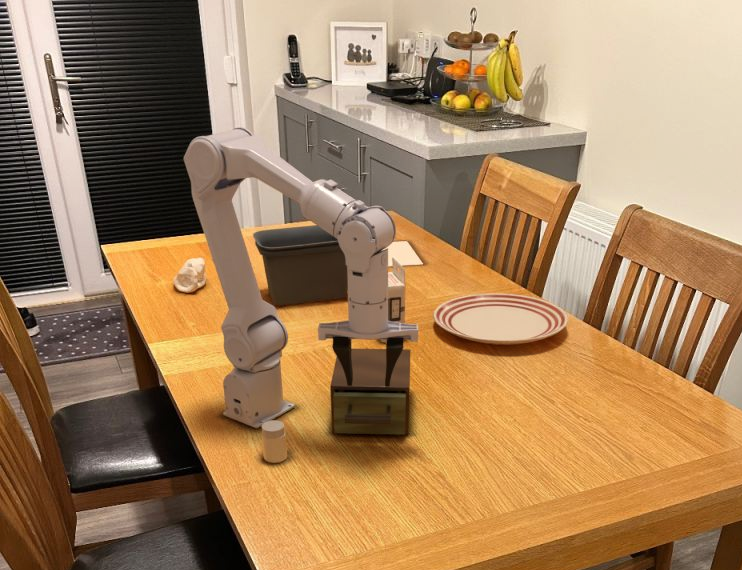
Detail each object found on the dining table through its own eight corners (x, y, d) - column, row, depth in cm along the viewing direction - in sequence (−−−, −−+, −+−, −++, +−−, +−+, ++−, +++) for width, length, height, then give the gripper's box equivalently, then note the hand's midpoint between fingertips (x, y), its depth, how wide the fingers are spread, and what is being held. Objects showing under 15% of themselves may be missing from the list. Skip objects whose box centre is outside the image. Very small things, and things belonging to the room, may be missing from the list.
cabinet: (408, 433, 128) (409, 387, 124) (332, 432, 129) (330, 385, 124) (409, 393, 141) (410, 349, 136) (339, 391, 141) (338, 348, 137)
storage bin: (265, 312, 173) (260, 247, 165) (254, 289, 185) (248, 227, 178) (360, 302, 178) (359, 238, 170) (343, 280, 191) (341, 219, 183)
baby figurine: (193, 275, 194) (210, 248, 190) (207, 308, 188) (225, 281, 183) (161, 266, 188) (177, 238, 183) (175, 300, 182) (192, 271, 177)
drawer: (404, 449, 123) (405, 411, 119) (331, 448, 123) (330, 410, 119) (406, 395, 138) (406, 360, 134) (341, 394, 138) (340, 359, 135)
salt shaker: (276, 465, 120) (273, 433, 117) (258, 458, 122) (255, 426, 119) (292, 455, 123) (289, 424, 120) (274, 448, 125) (272, 417, 122)
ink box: (369, 327, 166) (369, 258, 158) (392, 325, 167) (393, 255, 159) (381, 343, 159) (382, 271, 151) (405, 340, 160) (406, 269, 152)
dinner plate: (405, 325, 167) (406, 310, 165) (495, 295, 182) (497, 281, 180) (502, 368, 149) (504, 352, 147) (593, 332, 164) (596, 316, 162)
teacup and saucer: (354, 252, 208) (354, 237, 206) (384, 251, 210) (384, 235, 207) (359, 263, 201) (359, 247, 199) (390, 261, 202) (390, 245, 200)
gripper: (418, 288, 117) (416, 372, 124) (320, 286, 117) (323, 370, 124) (418, 305, 111) (416, 393, 118) (314, 304, 111) (319, 391, 118)
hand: (368, 383), depth 121 cm, fingers open, 5 cm apart
